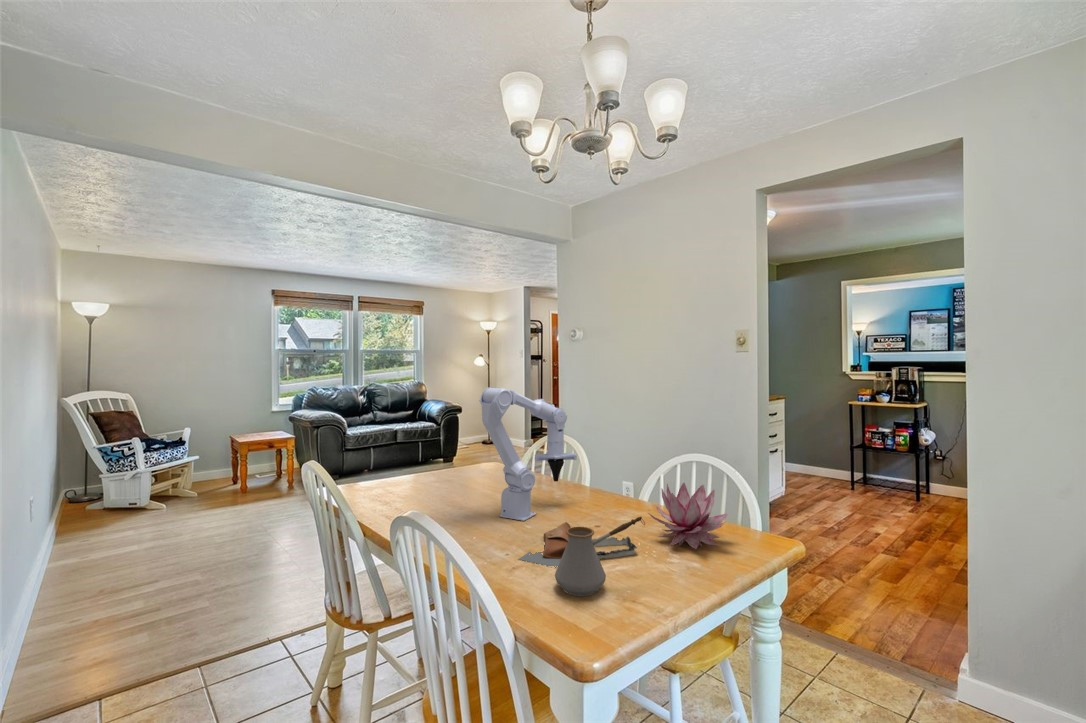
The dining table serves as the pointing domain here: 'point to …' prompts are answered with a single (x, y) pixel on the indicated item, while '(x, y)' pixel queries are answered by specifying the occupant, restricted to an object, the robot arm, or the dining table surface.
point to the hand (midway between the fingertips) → (555, 480)
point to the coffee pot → (583, 561)
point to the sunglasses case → (556, 541)
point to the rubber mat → (540, 559)
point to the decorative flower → (690, 516)
